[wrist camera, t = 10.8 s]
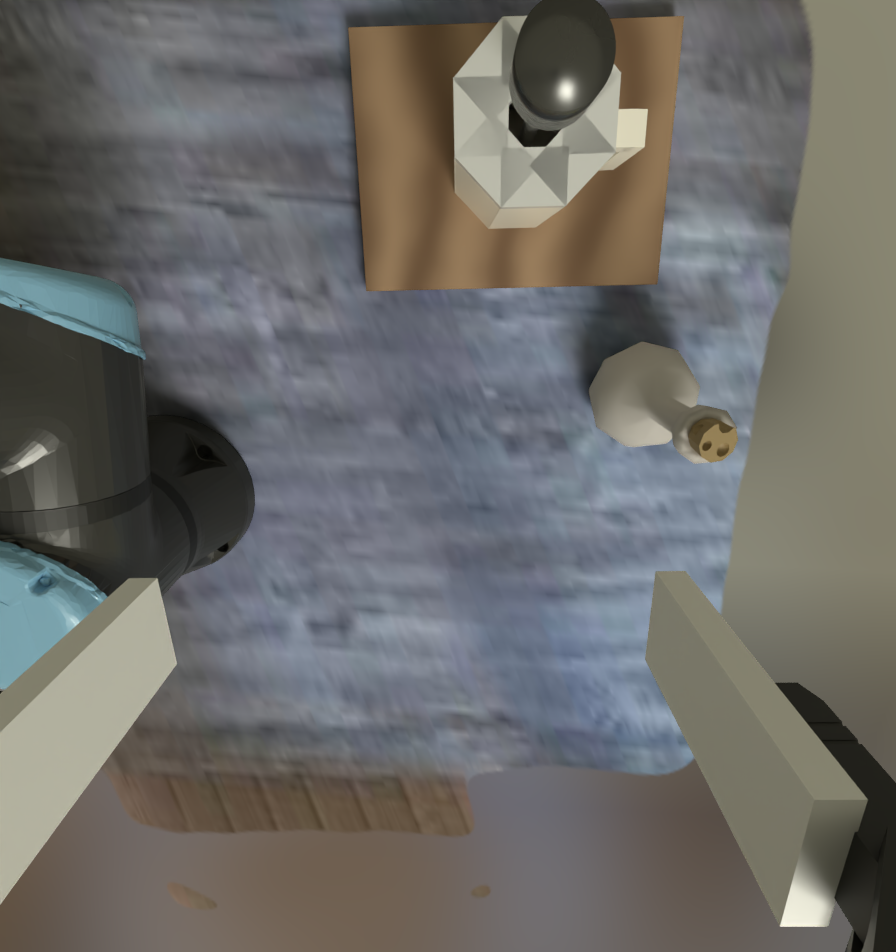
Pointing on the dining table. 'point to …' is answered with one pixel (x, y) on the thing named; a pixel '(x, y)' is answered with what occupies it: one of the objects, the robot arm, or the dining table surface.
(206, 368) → the dining table surface
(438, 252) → the board
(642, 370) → the potion bottle
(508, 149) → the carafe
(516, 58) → the plunger
